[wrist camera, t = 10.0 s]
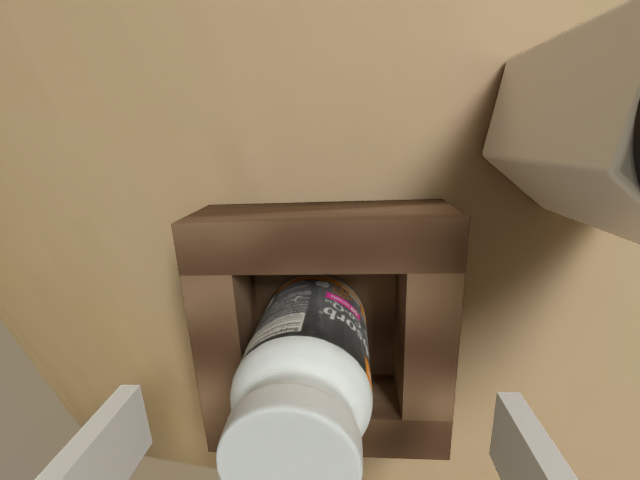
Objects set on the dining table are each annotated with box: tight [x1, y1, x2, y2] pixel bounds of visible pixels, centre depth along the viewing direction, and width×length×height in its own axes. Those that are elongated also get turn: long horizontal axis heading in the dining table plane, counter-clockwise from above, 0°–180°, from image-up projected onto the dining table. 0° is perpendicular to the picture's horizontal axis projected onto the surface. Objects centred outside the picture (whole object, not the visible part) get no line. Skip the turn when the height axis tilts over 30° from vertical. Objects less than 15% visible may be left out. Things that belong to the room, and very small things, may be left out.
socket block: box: [171, 199, 470, 460], centre depth 19 cm, size 13×13×4 cm
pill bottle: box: [216, 275, 373, 480], centre depth 16 cm, size 6×6×10 cm
